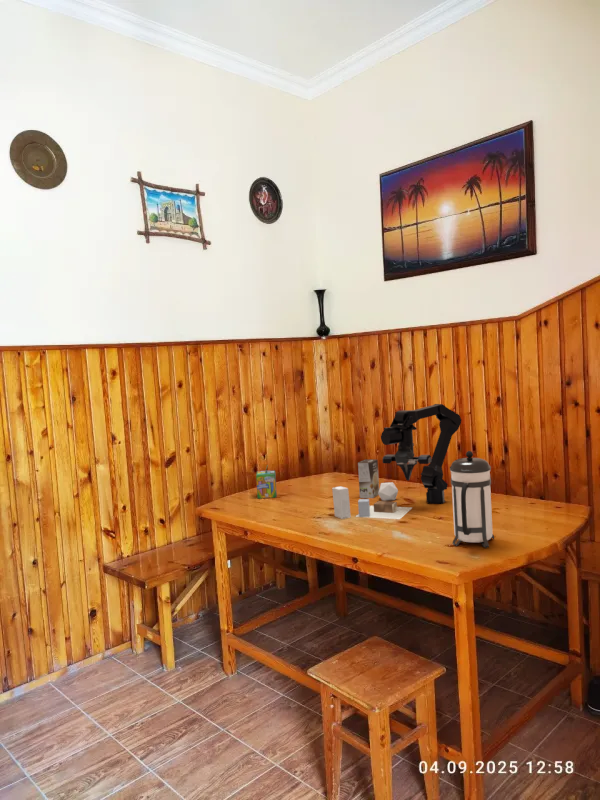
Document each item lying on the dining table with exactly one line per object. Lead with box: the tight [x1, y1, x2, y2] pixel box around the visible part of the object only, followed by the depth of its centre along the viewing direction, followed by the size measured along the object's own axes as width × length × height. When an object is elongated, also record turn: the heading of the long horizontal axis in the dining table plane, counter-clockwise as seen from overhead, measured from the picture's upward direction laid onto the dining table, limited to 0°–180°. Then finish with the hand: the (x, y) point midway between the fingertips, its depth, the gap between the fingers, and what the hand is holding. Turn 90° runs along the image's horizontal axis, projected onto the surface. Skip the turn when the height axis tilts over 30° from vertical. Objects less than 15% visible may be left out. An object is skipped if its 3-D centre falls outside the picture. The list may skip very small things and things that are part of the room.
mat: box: [355, 505, 413, 520], centre depth 239 cm, size 18×18×1 cm
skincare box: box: [331, 486, 352, 520], centre depth 236 cm, size 6×4×12 cm
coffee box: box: [357, 458, 380, 499], centre depth 271 cm, size 9×6×16 cm
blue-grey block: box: [357, 498, 371, 518], centre depth 236 cm, size 4×4×6 cm
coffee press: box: [449, 450, 495, 549], centre depth 194 cm, size 17×16×30 cm
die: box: [377, 481, 399, 502], centre depth 260 cm, size 8×9×10 cm
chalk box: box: [255, 464, 278, 499], centre depth 284 cm, size 9×9×15 cm
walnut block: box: [373, 500, 398, 513], centre depth 241 cm, size 3×5×8 cm
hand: (407, 480), depth 242 cm, fingers closed
